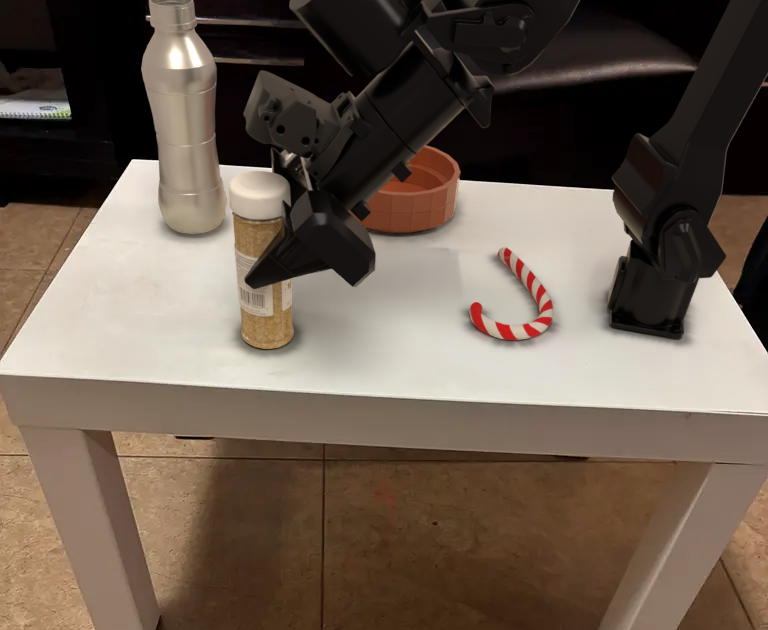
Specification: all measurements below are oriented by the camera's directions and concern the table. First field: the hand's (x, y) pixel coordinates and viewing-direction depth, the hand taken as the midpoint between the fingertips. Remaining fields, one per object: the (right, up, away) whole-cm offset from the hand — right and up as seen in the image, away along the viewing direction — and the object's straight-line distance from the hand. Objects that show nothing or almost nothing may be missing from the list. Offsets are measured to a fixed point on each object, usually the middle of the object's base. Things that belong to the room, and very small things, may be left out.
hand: (246, 266), depth 66 cm
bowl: (+12, +13, +23) cm, 29 cm away
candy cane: (+22, +1, +12) cm, 25 cm away
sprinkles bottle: (+1, -5, +5) cm, 7 cm away
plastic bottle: (-8, +9, +18) cm, 21 cm away
